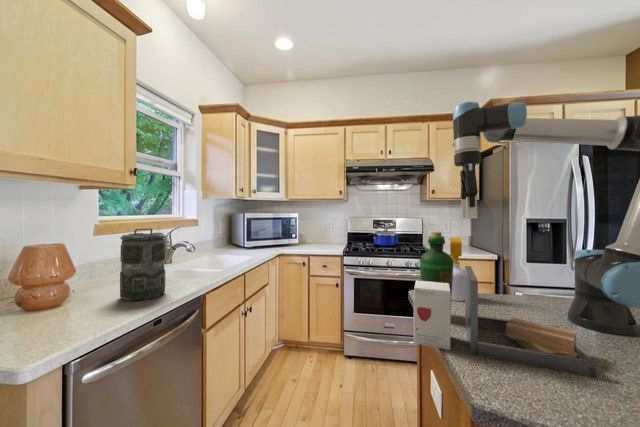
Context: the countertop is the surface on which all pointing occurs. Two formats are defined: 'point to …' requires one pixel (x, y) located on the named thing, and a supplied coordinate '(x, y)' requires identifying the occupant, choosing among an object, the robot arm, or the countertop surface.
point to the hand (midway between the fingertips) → (469, 218)
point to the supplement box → (432, 314)
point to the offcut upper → (542, 334)
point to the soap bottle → (457, 271)
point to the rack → (510, 353)
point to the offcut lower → (542, 348)
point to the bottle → (437, 262)
